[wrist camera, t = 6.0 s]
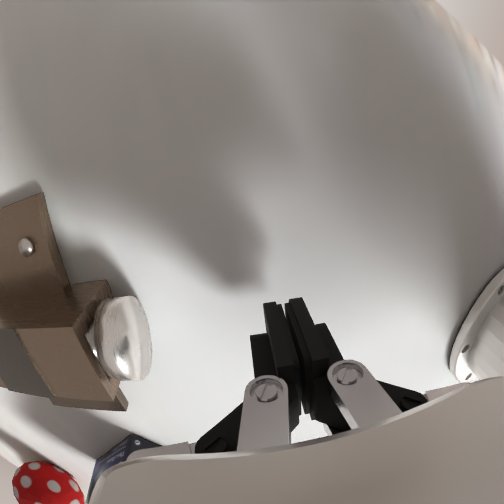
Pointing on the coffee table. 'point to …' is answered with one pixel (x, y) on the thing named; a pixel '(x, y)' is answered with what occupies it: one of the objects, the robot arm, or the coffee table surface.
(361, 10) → the coffee table surface
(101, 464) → the small box
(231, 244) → the coffee table surface
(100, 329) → the hinge pin
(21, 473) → the decorative mushroom
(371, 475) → the robot arm
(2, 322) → the hinge
